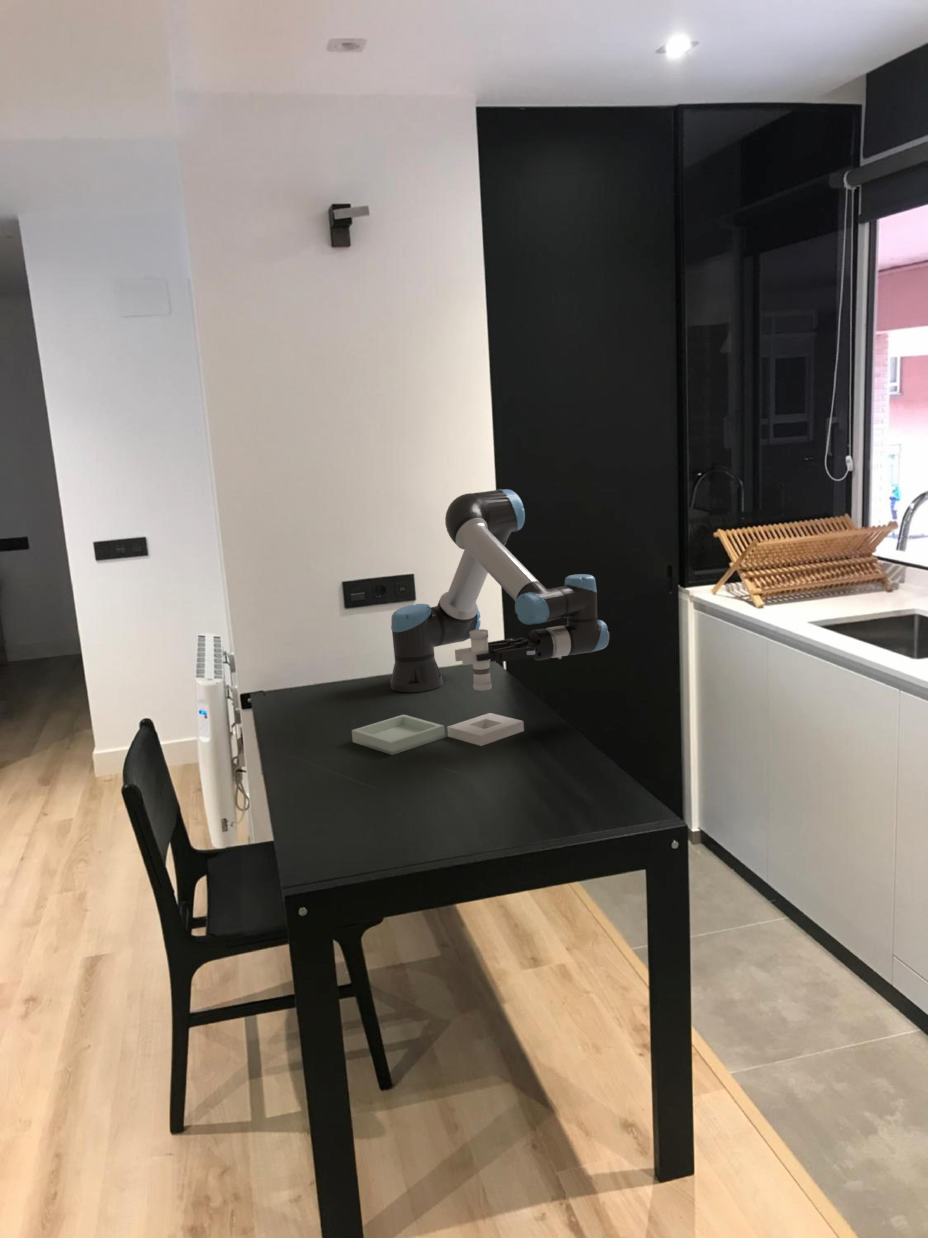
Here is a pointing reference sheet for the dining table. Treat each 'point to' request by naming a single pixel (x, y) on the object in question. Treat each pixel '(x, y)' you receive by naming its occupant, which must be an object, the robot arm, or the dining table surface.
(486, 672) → the fuse
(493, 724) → the socket block
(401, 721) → the parts tray
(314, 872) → the dining table surface
